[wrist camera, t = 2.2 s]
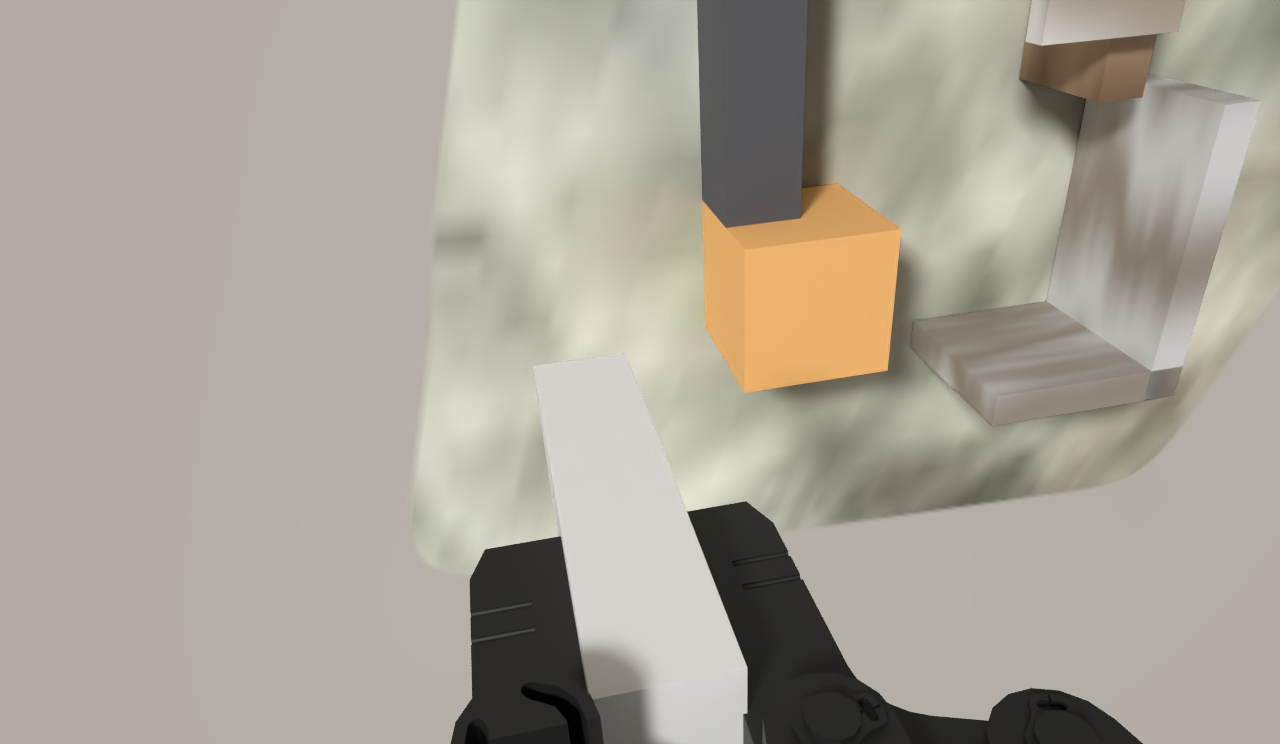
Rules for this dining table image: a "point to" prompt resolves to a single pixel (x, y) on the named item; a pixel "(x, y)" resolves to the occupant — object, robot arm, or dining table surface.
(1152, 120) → the rail
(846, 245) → the grey and orange bar
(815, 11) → the dining table surface
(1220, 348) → the dining table surface
